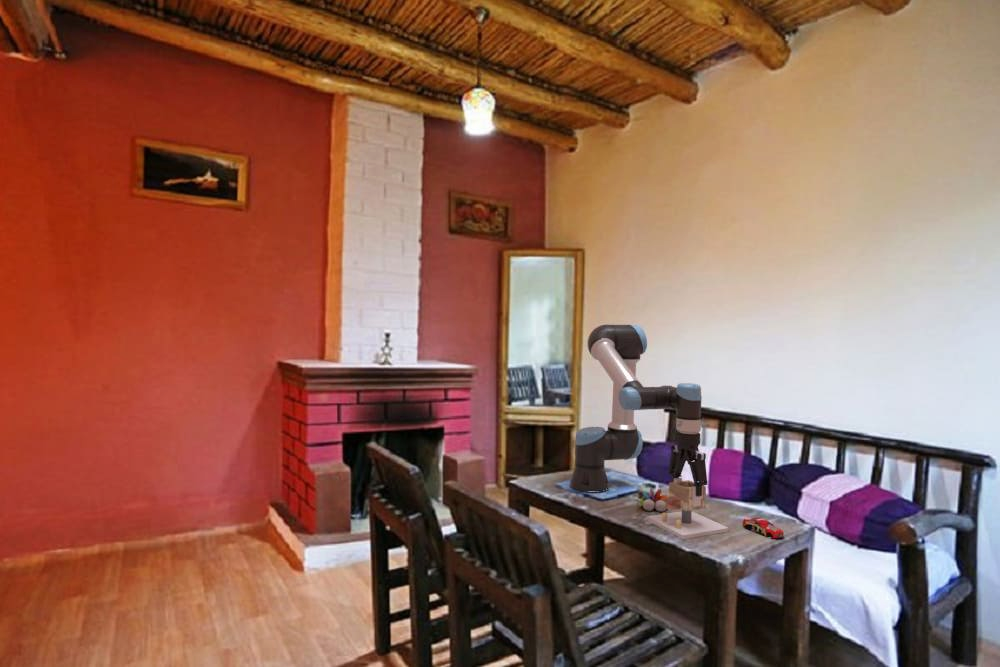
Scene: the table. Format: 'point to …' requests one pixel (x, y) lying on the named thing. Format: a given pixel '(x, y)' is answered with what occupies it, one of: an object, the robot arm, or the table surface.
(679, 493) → the flange collar
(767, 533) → the race car
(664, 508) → the rainbow spiky toy
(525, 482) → the table surface
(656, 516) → the post board
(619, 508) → the table surface
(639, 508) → the table surface
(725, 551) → the table surface
